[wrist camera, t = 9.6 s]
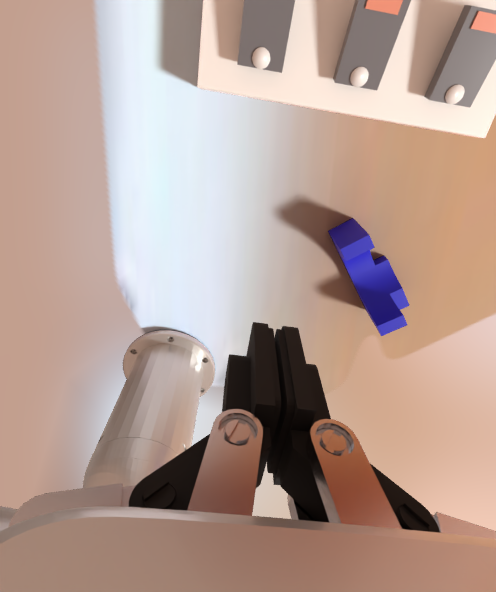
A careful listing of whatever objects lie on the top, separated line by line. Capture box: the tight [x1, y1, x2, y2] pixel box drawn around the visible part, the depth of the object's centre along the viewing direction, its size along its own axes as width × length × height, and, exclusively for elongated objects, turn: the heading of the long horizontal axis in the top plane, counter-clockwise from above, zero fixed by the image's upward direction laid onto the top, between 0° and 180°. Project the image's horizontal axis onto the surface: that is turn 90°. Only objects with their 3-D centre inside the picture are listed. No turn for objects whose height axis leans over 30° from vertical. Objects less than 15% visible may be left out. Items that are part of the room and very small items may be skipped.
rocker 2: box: [333, 0, 411, 90], centre depth 26 cm, size 6×4×1 cm, turn 172°
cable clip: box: [328, 218, 409, 336], centre depth 38 cm, size 12×4×6 cm, turn 30°
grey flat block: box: [424, 5, 496, 108], centre depth 26 cm, size 6×4×1 cm, turn 172°
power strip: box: [197, 0, 496, 138], centre depth 29 cm, size 10×31×4 cm, turn 81°
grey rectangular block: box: [237, 0, 295, 73], centre depth 25 cm, size 6×4×1 cm, turn 172°
